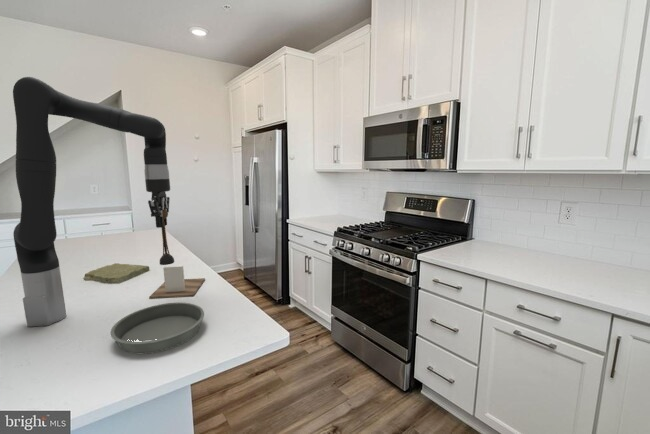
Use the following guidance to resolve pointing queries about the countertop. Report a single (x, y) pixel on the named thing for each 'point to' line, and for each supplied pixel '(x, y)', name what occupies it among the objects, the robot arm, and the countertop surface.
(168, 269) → the glazed tile
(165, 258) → the wooden tabletop sculpture
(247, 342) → the countertop surface
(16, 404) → the countertop surface
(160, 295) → the walnut board
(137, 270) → the olive green flat slab
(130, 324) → the cake pan
